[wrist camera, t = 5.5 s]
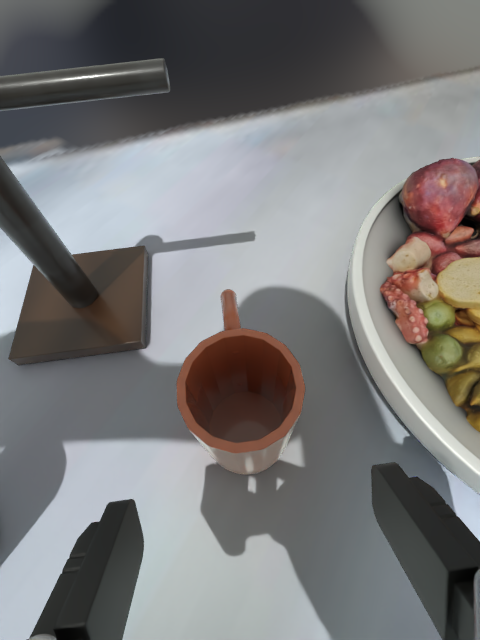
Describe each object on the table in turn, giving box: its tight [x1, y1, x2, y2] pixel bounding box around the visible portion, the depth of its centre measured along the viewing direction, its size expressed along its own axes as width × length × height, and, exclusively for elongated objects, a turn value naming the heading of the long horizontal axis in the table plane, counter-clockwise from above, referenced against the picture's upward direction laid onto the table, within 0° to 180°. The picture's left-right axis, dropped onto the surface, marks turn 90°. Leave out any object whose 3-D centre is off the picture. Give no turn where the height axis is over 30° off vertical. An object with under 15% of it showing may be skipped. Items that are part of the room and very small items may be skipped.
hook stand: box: [0, 59, 170, 365], centre depth 20 cm, size 16×10×18 cm, turn 97°
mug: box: [177, 289, 305, 475], centre depth 19 cm, size 9×6×9 cm, turn 7°
